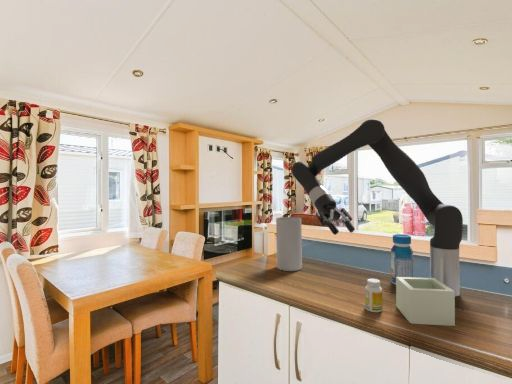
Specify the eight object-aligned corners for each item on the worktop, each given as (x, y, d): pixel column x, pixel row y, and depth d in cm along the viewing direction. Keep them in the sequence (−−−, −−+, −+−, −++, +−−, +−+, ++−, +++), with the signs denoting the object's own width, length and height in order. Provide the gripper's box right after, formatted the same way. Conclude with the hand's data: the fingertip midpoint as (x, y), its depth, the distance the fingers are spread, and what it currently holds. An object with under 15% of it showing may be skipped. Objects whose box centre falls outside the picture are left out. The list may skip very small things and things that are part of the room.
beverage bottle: (403, 288, 112) (402, 237, 112) (386, 281, 120) (385, 234, 120) (418, 285, 115) (418, 236, 115) (400, 279, 123) (400, 233, 123)
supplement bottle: (362, 309, 94) (362, 280, 93) (368, 304, 97) (368, 276, 97) (379, 314, 90) (378, 284, 90) (385, 308, 94) (384, 280, 94)
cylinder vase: (272, 266, 145) (271, 218, 145) (292, 263, 151) (291, 216, 150) (286, 273, 134) (285, 220, 134) (307, 269, 140) (306, 218, 139)
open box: (396, 306, 95) (396, 276, 95) (434, 308, 94) (434, 278, 94) (410, 323, 84) (410, 289, 83) (454, 325, 82) (454, 291, 82)
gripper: (313, 193, 107) (336, 227, 97) (339, 192, 114) (364, 224, 105) (303, 206, 111) (325, 240, 102) (329, 205, 119) (352, 236, 109)
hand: (345, 232), depth 103 cm, fingers open, 8 cm apart
